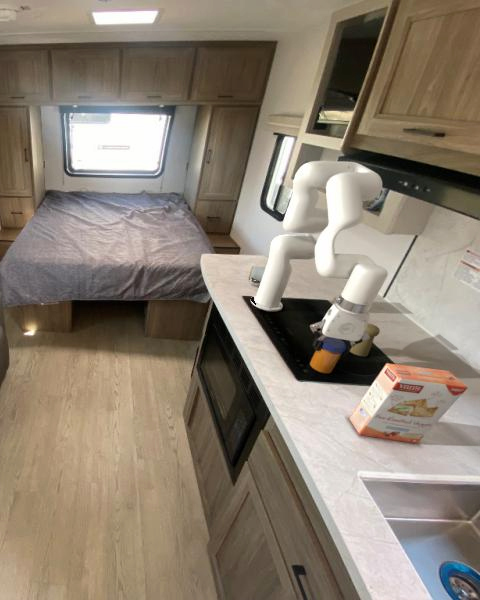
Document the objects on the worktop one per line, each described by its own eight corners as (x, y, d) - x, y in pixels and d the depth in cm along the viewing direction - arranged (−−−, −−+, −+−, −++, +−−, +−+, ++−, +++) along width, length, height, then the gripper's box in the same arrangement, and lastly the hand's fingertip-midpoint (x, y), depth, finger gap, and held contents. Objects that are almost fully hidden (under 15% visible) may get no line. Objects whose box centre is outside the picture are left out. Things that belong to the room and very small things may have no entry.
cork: (359, 357, 114) (374, 332, 109) (343, 347, 119) (356, 322, 114) (372, 354, 116) (387, 329, 110) (355, 344, 121) (369, 319, 115)
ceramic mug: (248, 276, 169) (252, 262, 165) (266, 280, 165) (270, 266, 161) (245, 284, 161) (250, 270, 157) (264, 288, 157) (269, 274, 153)
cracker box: (359, 436, 86) (400, 378, 76) (347, 418, 92) (384, 361, 81) (419, 446, 84) (470, 387, 74) (404, 426, 90) (449, 369, 79)
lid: (317, 337, 110) (319, 333, 109) (342, 343, 107) (345, 339, 106) (319, 349, 104) (321, 344, 103) (345, 356, 101) (348, 351, 101)
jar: (306, 359, 113) (317, 337, 108) (326, 361, 112) (338, 339, 107) (314, 371, 108) (326, 349, 103) (335, 374, 107) (348, 352, 102)
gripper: (324, 305, 96) (302, 352, 105) (394, 316, 92) (365, 364, 101) (316, 293, 103) (296, 338, 112) (382, 303, 98) (355, 349, 107)
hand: (329, 350), depth 106 cm, fingers closed on lid, 7 cm apart
